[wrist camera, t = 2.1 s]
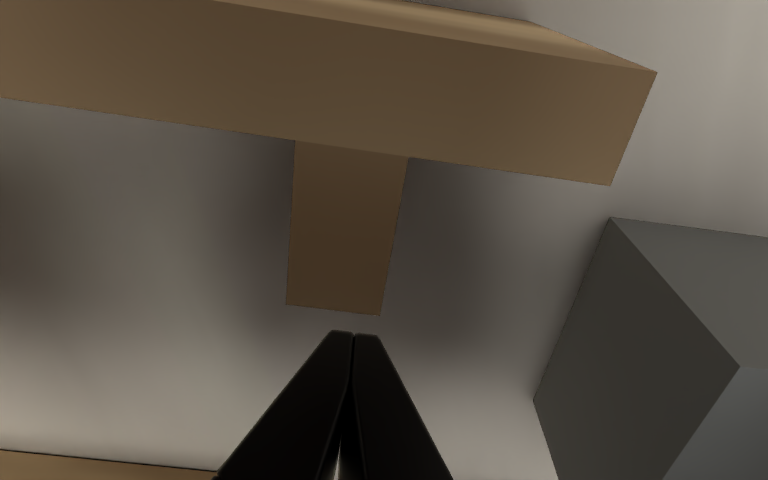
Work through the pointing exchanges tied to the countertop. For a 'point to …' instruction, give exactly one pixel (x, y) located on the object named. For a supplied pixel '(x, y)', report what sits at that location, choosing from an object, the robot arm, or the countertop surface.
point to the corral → (328, 116)
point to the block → (663, 359)
